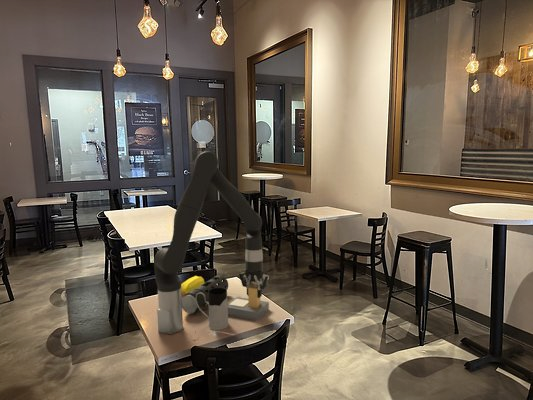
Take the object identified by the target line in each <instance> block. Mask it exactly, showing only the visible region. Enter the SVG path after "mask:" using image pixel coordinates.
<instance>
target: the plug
mask: <svg viewBox="0 0 533 400" xmlns="http://www.w3.org/2000/svg"><path fill="white" fill-rule="evenodd" d="M247 299H248V300H249V307H250V308H256V309H258V308H259V307H260V301H261V297H260V298H258V287H257V285H256V282H252V283H250V285H248V295H247Z"/></svg>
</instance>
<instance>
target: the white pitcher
mask: <svg viewBox="0 0 533 400" xmlns="http://www.w3.org/2000/svg"><path fill="white" fill-rule="evenodd" d="M198 294H202V295H203V296H204V298H205V302H206V296H205V295H204V294H203V293H201V292H200V293H198ZM195 299H196V304H197V307H198V308H199V310H200V312H201V313H202V314H203V315H204V316H205V317H206V318H207V319H208V327H209V330H211V331H213V332H214V331H215V332H218V331H220V330H223V329H226V328H228V327H229V325H230V323H229V315H228V304H229V302H228V300H229V299H228V289H227V290H226V289H224V288H214V289H211V290H209V302H206V303H207V305H208V314H206V313H205V312H204V311H203V310H202V309H200V307H199V305H198V303H197V294H196V298H195Z"/></svg>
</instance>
